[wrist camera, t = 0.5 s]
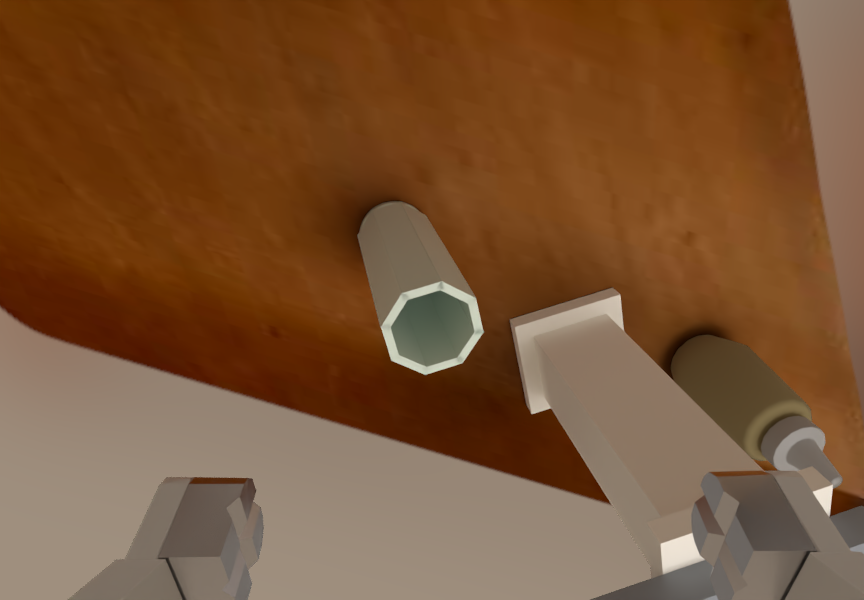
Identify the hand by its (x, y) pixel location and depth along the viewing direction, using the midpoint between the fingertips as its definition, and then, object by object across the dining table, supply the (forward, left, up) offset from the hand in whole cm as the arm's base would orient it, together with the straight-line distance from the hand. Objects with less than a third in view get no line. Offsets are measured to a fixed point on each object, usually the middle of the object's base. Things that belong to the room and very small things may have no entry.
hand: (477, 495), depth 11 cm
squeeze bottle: (+31, +27, -39) cm, 57 cm away
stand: (+25, +15, -38) cm, 48 cm away
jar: (+9, +1, -38) cm, 39 cm away
